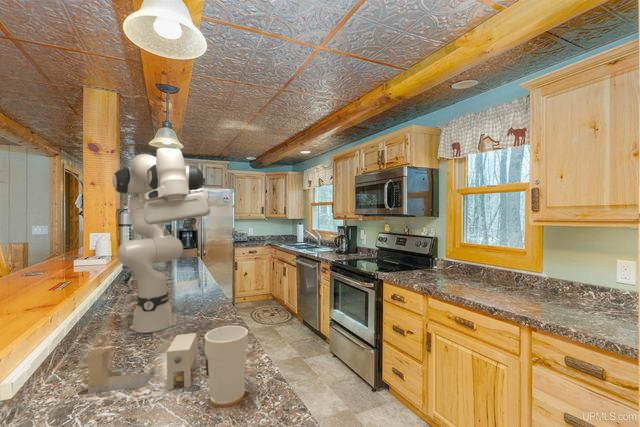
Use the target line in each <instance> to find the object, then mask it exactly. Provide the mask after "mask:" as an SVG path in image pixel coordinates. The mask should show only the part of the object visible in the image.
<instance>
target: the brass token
mask: <svg viewBox="0 0 640 427" xmlns="http://www.w3.org/2000/svg"><path fill="white" fill-rule="evenodd" d="M174 381H176V382H178V383H179V382H180V383H182V382H183V383H184V372H182V373H178V374H177V375H176V376H174Z"/></svg>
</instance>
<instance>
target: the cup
mask: <svg viewBox="0 0 640 427" xmlns="http://www.w3.org/2000/svg"><path fill="white" fill-rule="evenodd" d="M204 343H205V353H206V355H207V356H208V371H209V376H208V387H209V388H208V390H209V391H208V392H209V401H210V403H211V404H212V405H213V406H215V407H218V408H219V407H220V408H227V407H231V406H233V405H236V404H238V403H240V402H241V401H242V400H243V399H244V397H245V396H246V395H245V394H246V358H247V357H246V353H247V352H246V351H247V350H248V347H249V346H248V345H249V330H248V329H247V328H246V327H245V326H241V325H225V326H219V327H216V328H213V329H210V330H209V331H207V332H206V334H205V335H204Z"/></svg>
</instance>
